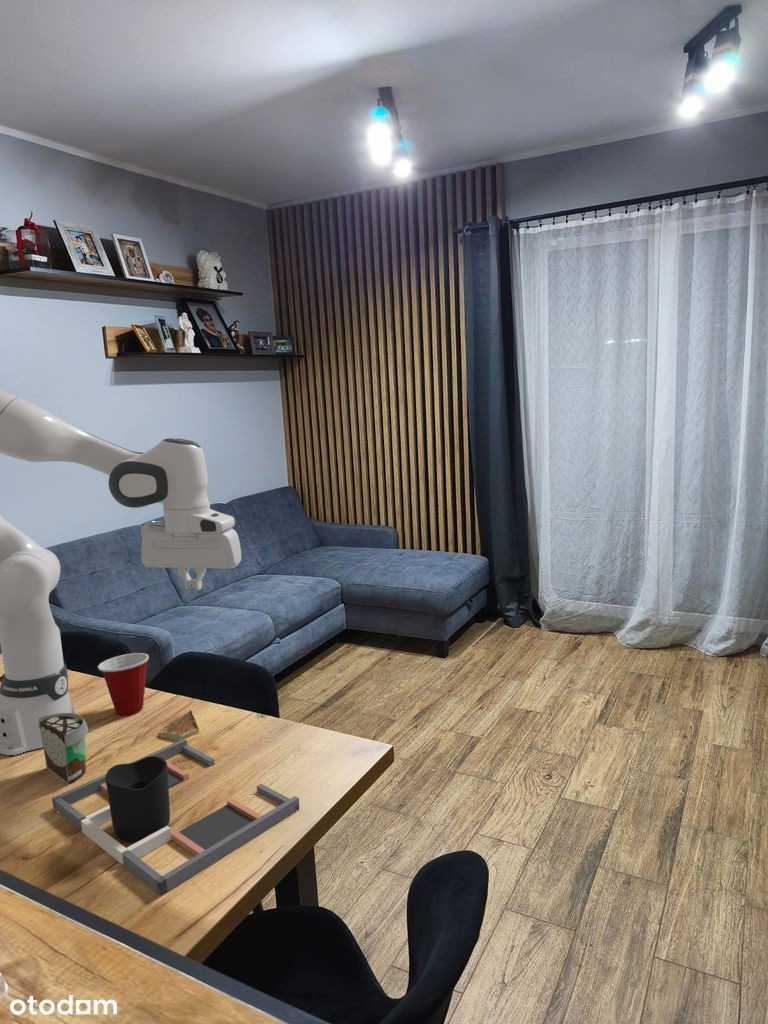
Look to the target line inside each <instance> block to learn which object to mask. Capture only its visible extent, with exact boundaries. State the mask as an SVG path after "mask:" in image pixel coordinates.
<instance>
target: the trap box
mask: <svg viewBox="0 0 768 1024" xmlns="http://www.w3.org/2000/svg"><path fill="white" fill-rule="evenodd" d="M187 741H188V740H187V739H185V738H183V739H182V740H180V741H176V742H173V743H172V744H169V745H166V746H165V747H163V748H160V749H157V750H155V751H154V752H151V753H149V754H147V755H145V756H142V757H140V758H137V759H135V760H134V761H131V762H130V763H134V762H136V761H138V760H141V759H143V758H145V757H149V756H157V757H161V758H163V759H164V760H165V761H166V762H167V769H168V787H169V789H170V788H173V787H175V786H176V785H179V784H181V783H182V782H183V783H184V781H187V780H188V779H189V778H190V775H189V773H188V772H187V771H185V770H183V769H182V768H180V767H178V766H176V765H174V764H173V763H171V762H169V761H167V760H169V759H170V758H172V757H175V756H177V755H179V754H182V753H185V754H187V755H189V756H191V757H192V758H195V759H196V760H198V761H200V762H201V763H203V764H205V765H207V766H209V767H211V766H213V765H215V758H213V757H211V756H209V755H207V754H206V753H203V752H202V751H200V750H198V749H195V748H194V747H192V746H190V745H188V742H187ZM105 776H106V773H105V774H103V775H101V776H97V777H96V778H94V779H91V780H89V781H87V782H85V783H82V784H80V785H77V786H76V787H73V788H72V789H70V790H67V791H64V792H62V793H61V794H58V795H55V796H54V797H52V798H51V801H52V807H53V808H54V809H55V810H54V809H53V810H54V811H55V812H57V811H58V812H59V813H60V814H61V816H62V815H63V816H64V817H65V818H66V819H65V818H64V817H63V816H62V817H63V818H64V819H65V820H67V821H68V820H69V821H70V822H71V823H70V822H69V821H68V822H69V823H70V824H72V825H73V826H74V825H75V826H76V827H75V826H74V827H75V828H77V829H78V830H79V831H80V830H81V831H82V827H81V820H83V819H85V817H86V815H84V814H83V813H81V812H80V811H79V810H78V809H76V808H75V807H74V806H72V804H74V803H76V802H78V801H81V800H83V799H84V798H86V797H89V796H91V795H94V794H95V793H97V792H100V791H102V792H103V793H104V794H106V796H108V792H107V786H106V779H105ZM256 792H257V793H259V794H261V795H263V796H265V797H266V798H268V799H270V800H271V801H274V802H276V803H278V804H279V805H278V806H276V807H275V808H272V809H271V810H270V811H267V812H266V813H264V814H263V815H262V814H260V813H258V811H255V810H253V809H252V808H249V807H248V806H246V805H244V804H243V803H241V802H239V801H238V800H235V799H234V798H232V797H231V798H229V799H227V800H226V804H225V805H224V806H222V807H220V808H218V809H217V810H215V811H214V812H211V813H210V814H208V815H206V816H204V817H202V818H201V819H199V820H196V821H195V822H194V823H192V824H190V825H187V826H186V827H185V828H183V829H181V830H179V831H178V830H176V829H173V830H171V836H172V840H171V841H173V842H175V843H176V844H178V845H179V846H180V847H181V848H183V849H185V850H186V851H187V852H189V853H190V854H192V855H193V857H191V858H190V859H188V860H187V861H184V862H183V863H182V864H180V865H178V866H177V867H175V868H173V869H171V870H170V871H168V872H166V873H165V874H164V875H161V873H159V872H157V871H156V870H155V869H154V868H152V867H151V866H150V865H149V864H147V863H146V862H145V861H143V860H142V859H141V858H138V857H137V856H136V855H134V854H133V853H132V852H130V851H128V852H126V853H125V854H123V856H124V865H123V866H124V868H126V869H127V870H128V871H129V872H130V873H133V875H134V876H136V878H138V879H139V880H141V881H142V882H143V883H144V884H145V885H147V886H148V887H150V888H151V889H152V890H153V891H154V892H156V893H157V895H159V896H163V895H165V894H167V893H169V892H170V891H171V890H173V889H174V888H176V887H178V886H179V885H180V884H182V883H185V881H187V880H189V879H190V878H192V877H194V876H195V875H197V874H198V873H200V872H202V871H203V870H204V869H207V868H208V867H210V866H211V865H213V864H214V863H216V862H217V861H219V860H221V859H222V858H224V857H226V856H227V855H229V854H231V853H232V852H234V851H235V850H236V849H238V848H240V847H242V846H243V845H245V844H246V843H248V842H249V841H251V840H253V839H255V838H256V837H258V836H259V835H261V834H262V833H264V832H265V831H267V830H269V829H271V828H272V827H274V826H275V825H277V824H279V822H281V821H283V820H285V819H286V818H288V817H289V816H291V815H293V814H294V813H296V812H297V811H299V810H300V809H299V808H301V807H300V797H298V796H295V795H294V796H292V797H291V798H289V797H288V796H285V795H284V794H282V793H280V792H278V791H275V790H274V789H272V788H270V787H268V786H266V785H264V784H263V783H260V784H258V785H256ZM298 809H299V810H298ZM296 810H297V811H296ZM295 811H296V812H295ZM58 812H57V813H58ZM293 812H294V813H293ZM59 813H58V814H59ZM292 813H293V814H292ZM60 814H59V815H60Z"/></svg>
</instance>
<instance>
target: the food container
mask: <svg viewBox="0 0 768 1024" xmlns="http://www.w3.org/2000/svg"><path fill="white" fill-rule="evenodd" d="M38 719H39V721H38V726H39V728H40V731H41V737H42V743H43V755H44V759H45V766H46V769H47V768H48V769H49V770H48V769H47V770H48V771H49V772H51V771H52V772H53V773H54V774H53V775H55V776H56V775H57V776H58V778H59V779H60V780H61V781H62V780H63V781H62V782H64V783H65V784H66V785H67V786H70V785H72V784H73V783H76V782H77V781H79V780H80V779H81V778H82V777H83V776H84V775H85V773H86V771H87V764H86V763H87V761H86V735H87V734H89V733H88V732H89V727H88V724H87V722H86V720H85V719H84V717H83V716H82V715H80V714H78V713H75V714H74V713H58V714H52V715H47V716H44V717H40V718H38ZM52 772H51V773H52ZM57 776H56V777H57ZM69 784H70V785H69Z"/></svg>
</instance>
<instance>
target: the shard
mask: <svg viewBox="0 0 768 1024" xmlns="http://www.w3.org/2000/svg"><path fill="white" fill-rule="evenodd" d="M199 733H200V729H199V727H198V724H197V720H196V718H195V716H194V714H193V711H192V710H191V709H190V710H189V711H188V712H186V713H184V714H183V715H181V716H180V717H178V718H176V719H174V720H173V721H171V722H169V724H167V725H165V726H164V727H162V729H160V730H158V733H157V736H158V737H160V738H164V739H169V740H174V741H176V742H178V741H180V740H182V739H185V738H188V737H190V736H191V737H192V736H194V735H197V734H199Z"/></svg>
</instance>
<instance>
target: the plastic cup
mask: <svg viewBox="0 0 768 1024" xmlns="http://www.w3.org/2000/svg"><path fill="white" fill-rule="evenodd" d="M149 659H150V656H149V654H147V653H143V652H134V653H133V652H132V653H126V654H122V655H117V656H114V657H110V658H108V659H105V660H104V661H102V662H100V663H99V664H98V665H97V669H98V671H100V672H101V674H102V676H103V679H104V681H105V683H106V686H107V689H108V692H109V696H110V699H111V701H112V705H113V708H114V712H115V713H116V715H118V716H123V717H125V716H131V715H135V714H137V713H139V712H141V711H142V709H144V700H145V699H144V697H145V692H146V691H145V690H146V689H145V688H146V677H147V676H146V675H147V674H146V673H147V666H148V661H149Z"/></svg>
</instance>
